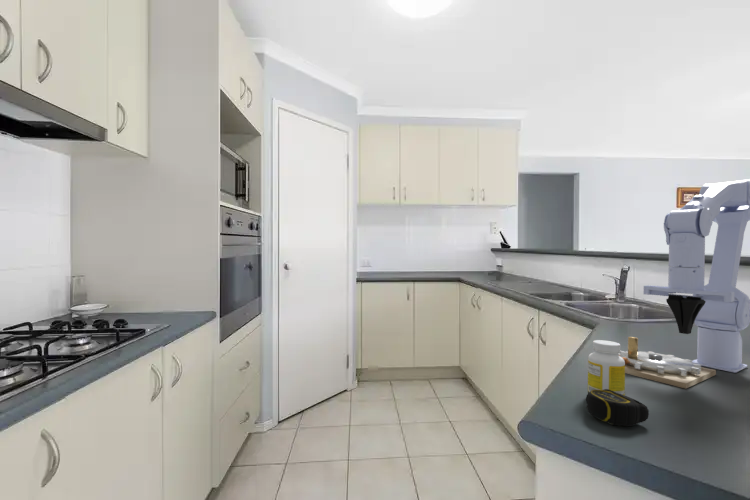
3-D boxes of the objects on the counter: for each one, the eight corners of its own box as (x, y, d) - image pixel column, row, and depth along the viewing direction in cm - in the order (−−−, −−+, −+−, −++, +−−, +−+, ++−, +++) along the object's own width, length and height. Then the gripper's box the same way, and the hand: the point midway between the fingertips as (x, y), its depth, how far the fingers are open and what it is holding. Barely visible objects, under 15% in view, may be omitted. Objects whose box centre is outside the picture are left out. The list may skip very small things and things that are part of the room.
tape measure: (651, 428, 54) (652, 402, 54) (615, 433, 52) (616, 406, 52) (608, 409, 60) (609, 386, 60) (575, 413, 58) (576, 389, 58)
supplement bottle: (625, 399, 64) (626, 342, 65) (623, 409, 60) (625, 348, 60) (589, 391, 68) (590, 337, 68) (585, 400, 63) (586, 342, 63)
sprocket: (663, 355, 90) (664, 332, 90) (722, 376, 74) (722, 348, 74) (599, 354, 90) (600, 330, 90) (645, 374, 74) (646, 345, 74)
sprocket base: (631, 356, 93) (632, 351, 93) (715, 374, 80) (716, 368, 80) (597, 366, 84) (597, 360, 84) (685, 388, 71) (686, 381, 71)
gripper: (637, 265, 81) (636, 328, 81) (726, 269, 69) (725, 342, 69) (651, 265, 85) (650, 325, 85) (738, 269, 73) (737, 338, 73)
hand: (685, 333), depth 77 cm, fingers closed
